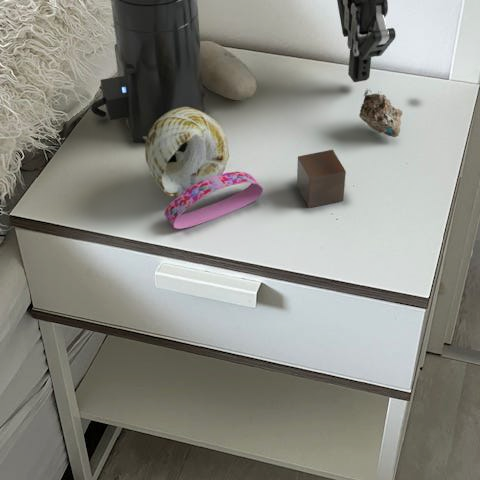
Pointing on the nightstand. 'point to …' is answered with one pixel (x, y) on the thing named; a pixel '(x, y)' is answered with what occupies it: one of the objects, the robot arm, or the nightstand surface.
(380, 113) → the rock
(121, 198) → the nightstand surface
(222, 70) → the stone
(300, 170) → the brown cube block
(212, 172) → the seashell
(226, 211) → the headband
